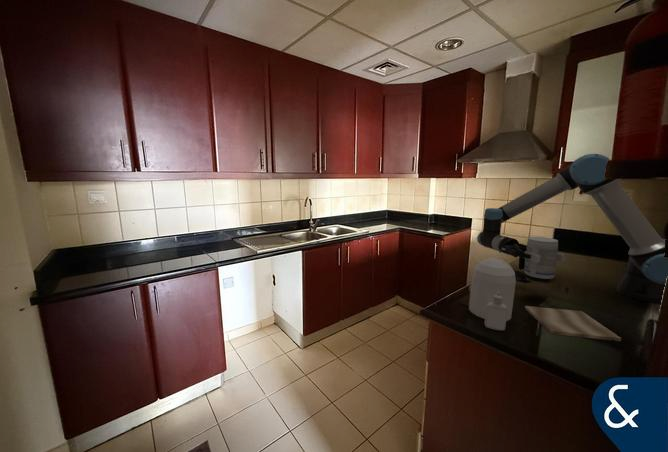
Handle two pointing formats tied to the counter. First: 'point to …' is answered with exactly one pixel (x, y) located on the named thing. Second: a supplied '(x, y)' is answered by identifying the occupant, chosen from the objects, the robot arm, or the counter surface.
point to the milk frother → (527, 277)
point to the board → (571, 323)
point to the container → (491, 285)
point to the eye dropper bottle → (496, 313)
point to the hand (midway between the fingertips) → (551, 258)
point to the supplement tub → (542, 257)
